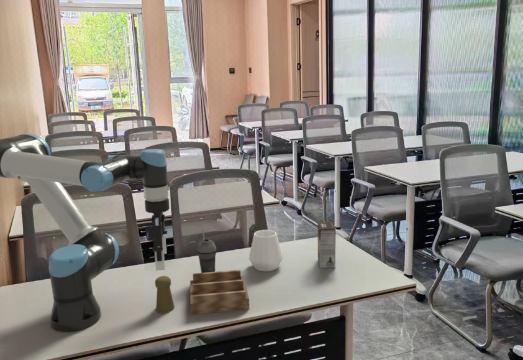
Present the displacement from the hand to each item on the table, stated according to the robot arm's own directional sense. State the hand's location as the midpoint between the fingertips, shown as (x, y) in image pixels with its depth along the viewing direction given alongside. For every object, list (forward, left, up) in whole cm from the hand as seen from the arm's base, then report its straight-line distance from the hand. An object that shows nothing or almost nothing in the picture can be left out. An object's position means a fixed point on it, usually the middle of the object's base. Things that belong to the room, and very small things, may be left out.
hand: (161, 261), depth 159 cm
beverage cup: (+15, +20, -17) cm, 30 cm away
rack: (+18, +3, -17) cm, 25 cm away
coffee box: (+62, +25, -17) cm, 69 cm away
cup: (+38, +27, -17) cm, 49 cm away
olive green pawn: (0, 0, -17) cm, 17 cm away
